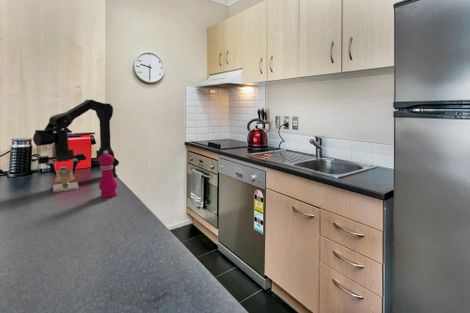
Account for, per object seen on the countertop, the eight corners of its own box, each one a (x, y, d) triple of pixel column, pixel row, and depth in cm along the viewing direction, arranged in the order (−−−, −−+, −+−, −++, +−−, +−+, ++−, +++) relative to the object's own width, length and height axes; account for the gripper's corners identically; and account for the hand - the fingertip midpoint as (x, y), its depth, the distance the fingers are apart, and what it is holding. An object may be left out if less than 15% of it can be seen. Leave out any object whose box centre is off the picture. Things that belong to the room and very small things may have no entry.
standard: (53, 186, 133) (51, 166, 131) (77, 183, 139) (75, 164, 137) (53, 192, 125) (50, 170, 123) (78, 188, 130) (76, 168, 128)
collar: (56, 177, 132) (56, 171, 131) (72, 175, 135) (72, 169, 135) (56, 180, 126) (56, 174, 126) (73, 178, 130) (72, 172, 129)
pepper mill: (96, 196, 119) (92, 151, 116) (110, 192, 126) (107, 148, 122) (107, 199, 116) (103, 152, 112) (121, 194, 122) (118, 150, 119)
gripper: (35, 147, 116) (39, 182, 119) (85, 143, 126) (88, 177, 129) (36, 143, 126) (41, 177, 128) (83, 141, 135) (86, 172, 138)
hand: (64, 176), depth 131 cm, fingers closed on collar, 6 cm apart
